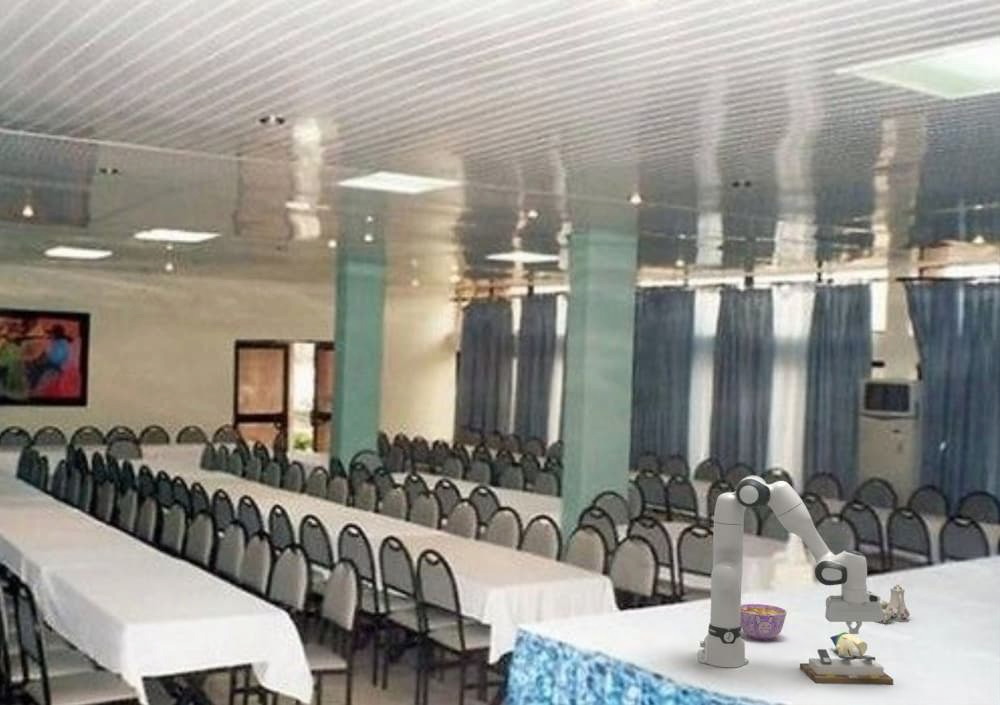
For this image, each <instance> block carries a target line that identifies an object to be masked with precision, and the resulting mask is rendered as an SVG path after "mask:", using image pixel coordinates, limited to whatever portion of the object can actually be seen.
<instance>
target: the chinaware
mask: <svg viewBox="0 0 1000 705" xmlns="http://www.w3.org/2000/svg"><path fill="white" fill-rule="evenodd" d="M889 590H890V599H889V602H887V601H885V600H880V602H879V603H880V604H881V605H882V610H883V619H882V621H881V622H878V623H880V624H887V622H888V621H891V622H898V623H904V622H907V619H908V618H909V617H910V611H909V610H908V607H907V605H906V604H905V603H906V602H905V591H906V589H904V588H902V587H901V586H900V584H899V583H896V584H895V586H893V587H892V588H889Z"/></svg>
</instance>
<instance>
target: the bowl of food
mask: <svg viewBox="0 0 1000 705" xmlns="http://www.w3.org/2000/svg"><path fill="white" fill-rule="evenodd" d="M786 616H787V610H786V609H784V608H782V607H780V606H775V605H769V604H763V603H761V604H759V603H746V604H744V603H743V604H741V616H740V626H741V630H742V631H743V633H744V634H746V635H747V636H749V637H750V638H751V639H753V640H757V641H758V640H759V641H769V640H771V639H773V638H775V637H777V636H778V635H779V634H780V633H781V632H782V629H783V627H784V624H785V620H786Z"/></svg>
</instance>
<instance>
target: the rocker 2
mask: <svg viewBox="0 0 1000 705" xmlns="http://www.w3.org/2000/svg"><path fill="white" fill-rule="evenodd" d="M854 657H855V656H854ZM854 657H852V656H848V655H839V654H838V659H845V660H854V659H855V658H854Z"/></svg>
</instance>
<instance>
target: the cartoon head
mask: <svg viewBox="0 0 1000 705" xmlns="http://www.w3.org/2000/svg"><path fill="white" fill-rule="evenodd" d="M830 640H831V641H832V643H833V645H834V647H835V650H836V651H837V654H838V656H839V655H848V656H852V657H857V656H858V657H860V655H865V654H866V651H867V650H868V644H867V642H866V641H864V640H862V639H860V638H858V637H857V636H855V634H850V633H849V632H841V633H839V634H836V635H833V636H830Z"/></svg>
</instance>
